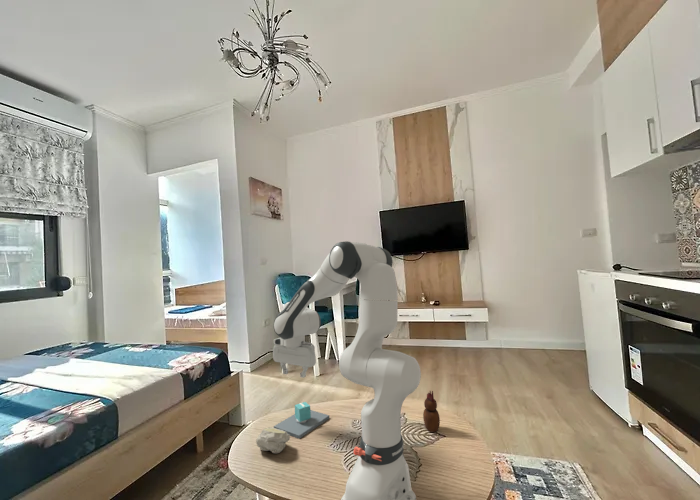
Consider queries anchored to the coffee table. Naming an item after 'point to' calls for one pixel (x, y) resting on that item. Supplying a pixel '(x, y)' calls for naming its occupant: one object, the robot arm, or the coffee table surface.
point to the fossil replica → (272, 440)
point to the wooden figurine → (431, 414)
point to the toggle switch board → (302, 424)
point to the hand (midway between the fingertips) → (294, 375)
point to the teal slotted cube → (302, 411)
